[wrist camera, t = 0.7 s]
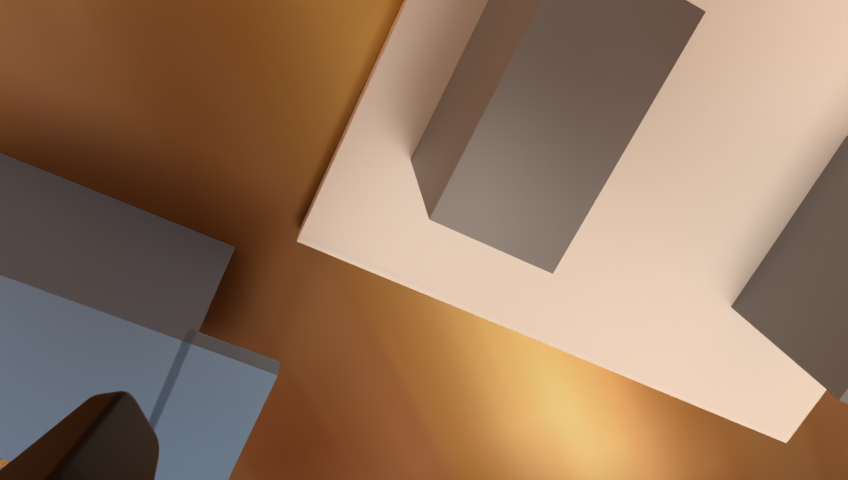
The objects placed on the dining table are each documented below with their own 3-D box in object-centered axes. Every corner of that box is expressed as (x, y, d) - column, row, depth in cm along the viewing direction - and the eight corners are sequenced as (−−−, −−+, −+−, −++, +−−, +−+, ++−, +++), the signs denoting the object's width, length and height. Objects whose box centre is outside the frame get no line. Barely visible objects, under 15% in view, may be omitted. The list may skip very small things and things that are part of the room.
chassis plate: (769, 425, 25) (896, 560, 19) (299, 229, 21) (277, 326, 15) (1014, 93, 21) (1262, 134, 15) (506, -225, 17) (583, -332, 11)
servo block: (245, 386, 22) (204, 533, 16) (-122, 256, 20) (-329, 375, 14) (298, 271, 21) (275, 385, 15) (-85, 117, 19) (-293, 181, 13)
